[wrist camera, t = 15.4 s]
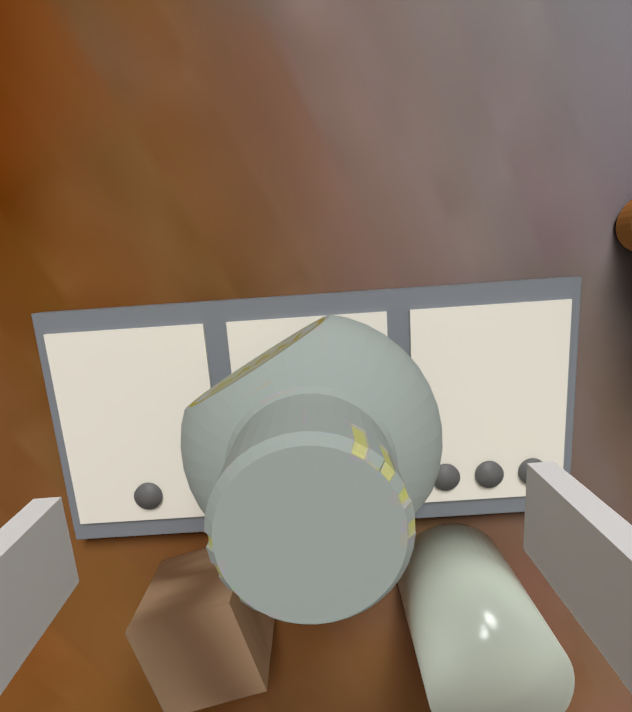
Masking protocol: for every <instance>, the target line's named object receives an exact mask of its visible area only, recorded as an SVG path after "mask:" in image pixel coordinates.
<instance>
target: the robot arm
mask: <svg viewBox="0 0 632 712" xmlns="http://www.w3.org/2000/svg"><path fill="white" fill-rule="evenodd" d="M523 549H524V550H525V552H526V553H527V554H528V556H529V557H530V558H531V560H532V561H533V562H534V564H535V565H536V566H537V568H538V569H539V570H540V572H541V573H542V574H543V576H544V577H545V578H546V580H547V581H548V583H549V584H550V585H551V587H552V588H553V589H554V591H555V592H556V593H557V595H558V596H559V597H560V599H561V600H562V601H563V603H564V604H565V605H566V607H567V608H568V609H569V611H570V612H571V613H572V615H573V616H574V617H575V619H576V620H577V621H578V623H579V624H580V625H581V627H582V628H583V629H584V631H585V632H586V633H587V635H588V636H589V637H590V639H591V640H592V642H593V643H594V644H595V646H596V647H597V648H598V650H599V651H600V652H601V654H602V655H603V656H604V658H605V659H606V660H607V662H608V663H609V664H610V666H611V667H612V668H613V670H614V671H615V672H616V674H617V675H618V676H619V678H620V679H621V680H622V682H623V683H624V684H625V686H626V687H627V688H628V690H629V691H630V692H631V694H632V525H631V524H629V523H628V522H627V521H626V520H625V519H623V518H622V517H621V516H620V515H619V514H617V513H616V512H615V511H614V510H612V509H611V508H610V507H609V506H608V505H606V504H605V503H604V502H603V501H602V500H600V499H599V498H598V497H597V496H595V495H594V494H593V493H592V492H591V491H589V490H588V489H587V488H586V487H585V486H583V485H582V484H581V483H580V482H579V481H577V480H576V479H575V478H574V477H572V476H571V475H570V474H569V473H568V472H566V471H565V470H564V469H563V468H562V467H560V466H559V465H558V464H557V463H555V462H554V461H551V462H537V463H527V476H526V499H525V522H524V546H523ZM78 583H79V578H78V573H77V569H76V564H75V559H74V555H73V550H72V545H71V541H70V536H69V532H68V527H67V522H66V518H65V513H64V508H63V504H62V499H61V497H54V498H40V499H33V500H32V501H31V502H30V503H29V504H27V505H26V506H25V507H24V508H23V509H22V510H21V511H20V512H18V513H17V514H16V515H15V516H14V517H13V518H12V519H11V520H10V521H8V522H7V523H6V524H5V525H4V526H3V527H2V528H1V529H0V695H1V694H2V692H3V691H4V689H5V688H6V687H7V685H8V684H9V682H10V681H11V679H12V678H13V676H14V675H15V674H16V672H17V671H18V669H19V668H20V666H21V665H22V663H23V662H24V661H25V659H26V658H27V656H28V655H29V653H30V652H31V651H32V649H33V648H34V646H35V645H36V643H37V642H38V640H39V639H40V638H41V636H42V635H43V633H44V632H45V630H46V629H47V627H48V626H49V625H50V623H51V622H52V620H53V619H54V617H55V616H56V615H57V613H58V612H59V610H60V609H61V607H62V606H63V604H64V603H65V602H66V600H67V599H68V597H69V596H70V594H71V593H72V592H73V590H74V589H75V587H76V586H77V584H78Z"/></svg>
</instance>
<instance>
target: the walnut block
mask: <svg viewBox="0 0 632 712" xmlns="http://www.w3.org/2000/svg"><path fill="white" fill-rule="evenodd" d="M218 576H219V572H218V571H217V569H216V567H215V565H214V564H213V563H211V561H210V558H209V555H208V552H207V549H206V548H203V549H200V550H196V551H193V552H190V553H186V554H183V555H180V556H176V557H173V558H169V559H166V560H163V561H161V563H160V565H159V567H158V569H157V571H156V573H155V575H154V577H153V579H152V581H151V583H150V585H149V587H148V589H147V591H146V593H145V595H144V597H143V599H142V601H141V603H140V605H139V607H138V608H137V610H136V612H135V614H134V616H133V618H132V620H131V622H130V624H129V626H128V628H127V630H126V632H125V635H126V637H127V639H128V641H129V643H130V645H131V647H132V649H133V651H134V653H135V655H136V657H137V659H138V661H139V663H140V665H141V667H142V669H143V671H144V673H145V675H146V677H147V679H148V681H149V683H150V685H151V687H152V690H153V692H154V694H155V696H156V698H157V700H158V702H159V704H160V706H161V708H162V710H163V712H193V711H197V710H200V709H204V708H208V707H211V706H215V705H218V704H222V703H226V702H229V701H233V700H237V699H240V698H244V697H248V696H251V695H255V694H259V693H262V692H266V691H267V686H268V677H269V668H270V659H271V649H272V640H273V631H274V622H275V619H274V618H270V617H269V616H268V615H266V614H264V613H262V612H260V611H257V610H253V609H252V608H250V607H249V606H247V605H246V604H244V603H243V602H241V601H240V598H239V596H238V595H237V594H236V593H235V592H234V591H231V590H228V589H227V587H226V586H225V585H224V583H223V582H222V581H221V579H220V578H219V577H218Z"/></svg>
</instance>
